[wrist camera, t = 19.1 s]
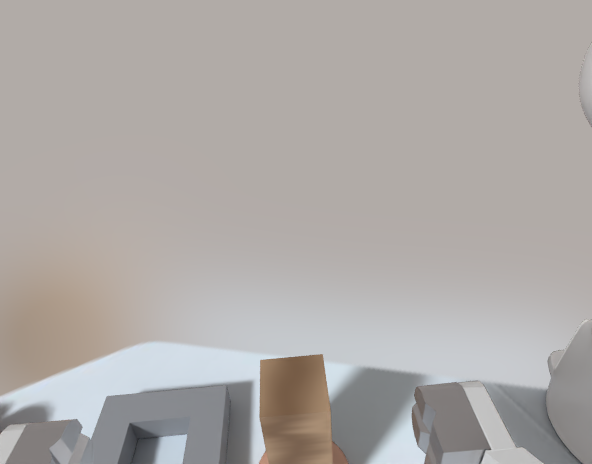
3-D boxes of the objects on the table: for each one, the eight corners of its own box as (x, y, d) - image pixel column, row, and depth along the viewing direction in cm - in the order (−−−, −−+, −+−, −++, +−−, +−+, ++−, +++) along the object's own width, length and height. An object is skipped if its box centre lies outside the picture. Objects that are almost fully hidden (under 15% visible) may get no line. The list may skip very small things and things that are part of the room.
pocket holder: (230, 401, 47) (226, 385, 45) (219, 535, 36) (213, 519, 34) (115, 412, 46) (106, 396, 45) (69, 550, 36) (55, 535, 34)
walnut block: (327, 448, 41) (322, 354, 33) (333, 504, 37) (330, 411, 29) (276, 453, 41) (260, 360, 33) (277, 509, 37) (259, 417, 29)
